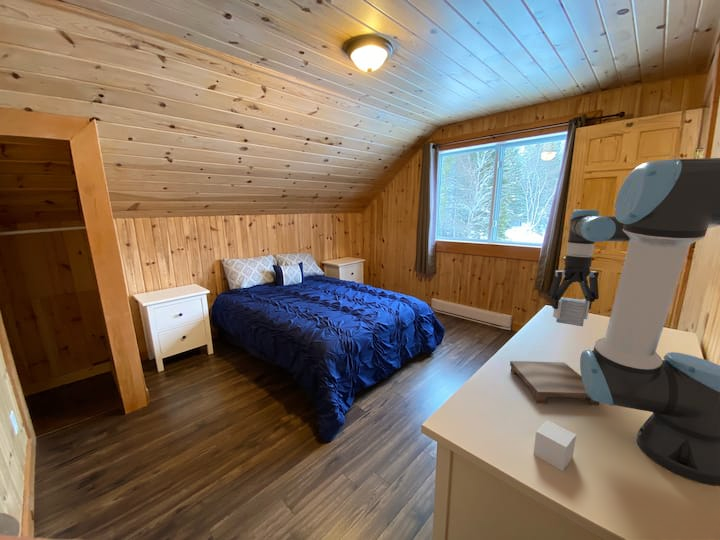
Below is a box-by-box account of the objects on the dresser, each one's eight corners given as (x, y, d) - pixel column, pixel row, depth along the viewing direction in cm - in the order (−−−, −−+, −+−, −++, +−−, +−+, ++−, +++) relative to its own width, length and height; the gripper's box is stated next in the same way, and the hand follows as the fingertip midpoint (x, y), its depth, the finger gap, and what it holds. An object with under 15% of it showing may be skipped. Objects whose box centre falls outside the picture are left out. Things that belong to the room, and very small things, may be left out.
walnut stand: (600, 406, 87) (602, 393, 87) (536, 404, 88) (538, 391, 87) (562, 373, 105) (564, 362, 104) (509, 371, 106) (510, 361, 105)
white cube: (572, 457, 69) (576, 434, 68) (562, 471, 66) (566, 447, 65) (544, 442, 74) (547, 420, 73) (533, 454, 70) (536, 431, 69)
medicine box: (582, 323, 109) (585, 299, 108) (583, 327, 106) (586, 303, 104) (556, 319, 113) (559, 296, 112) (556, 322, 110) (559, 299, 108)
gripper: (602, 254, 108) (593, 314, 112) (540, 253, 109) (533, 313, 113) (619, 257, 101) (608, 322, 105) (553, 256, 101) (545, 320, 106)
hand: (569, 317), depth 109 cm, fingers closed on medicine box, 9 cm apart
